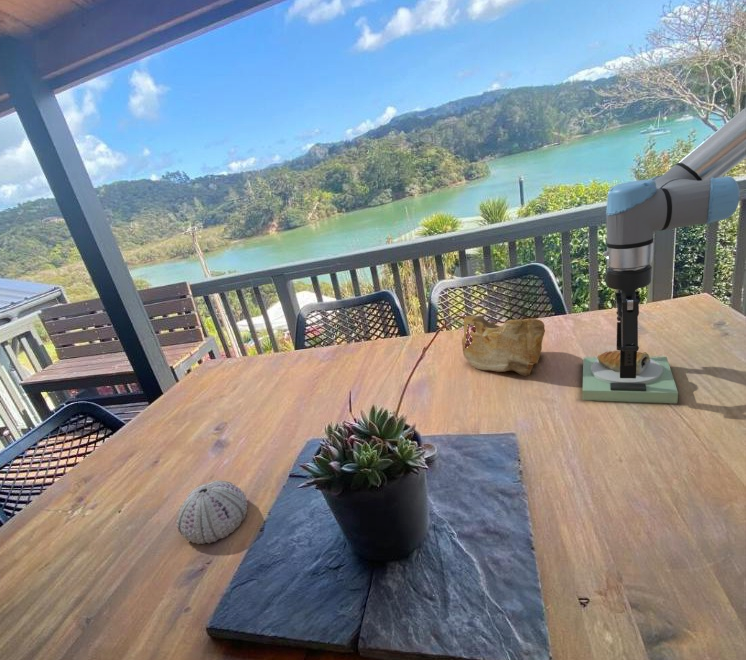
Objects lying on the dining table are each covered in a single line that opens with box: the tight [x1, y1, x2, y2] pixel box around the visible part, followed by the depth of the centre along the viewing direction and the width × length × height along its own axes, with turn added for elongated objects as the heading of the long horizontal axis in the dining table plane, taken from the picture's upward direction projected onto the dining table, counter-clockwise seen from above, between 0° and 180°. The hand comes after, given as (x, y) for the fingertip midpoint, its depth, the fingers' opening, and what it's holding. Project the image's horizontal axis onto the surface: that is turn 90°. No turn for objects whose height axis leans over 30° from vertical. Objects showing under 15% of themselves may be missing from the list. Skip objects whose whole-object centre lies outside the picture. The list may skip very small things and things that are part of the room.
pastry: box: [596, 350, 651, 375], centre depth 94 cm, size 9×7×4 cm
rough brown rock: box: [461, 314, 546, 377], centre depth 112 cm, size 23×17×15 cm
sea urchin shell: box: [175, 480, 248, 545], centre depth 82 cm, size 13×14×8 cm
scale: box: [582, 356, 679, 404], centre depth 94 cm, size 16×16×4 cm
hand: (625, 362), depth 93 cm, fingers open, 13 cm apart
